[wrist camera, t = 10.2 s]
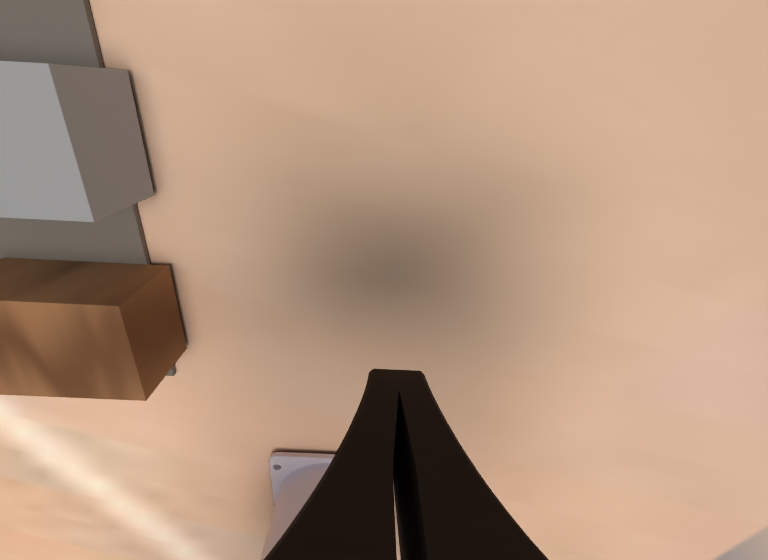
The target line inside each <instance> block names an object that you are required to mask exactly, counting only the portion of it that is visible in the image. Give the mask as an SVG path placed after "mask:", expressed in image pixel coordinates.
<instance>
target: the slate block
mask: <svg viewBox="0 0 768 560" xmlns="http://www.w3.org/2000/svg"><path fill="white" fill-rule="evenodd" d="M153 195H154V192H153V187H152V183H151V178H150V173H149V169H148V164H147V159H146V154H145V150H144V145H143V140H142V136H141V131H140V126H139V122H138V117H137V112H136V108H135V103H134V98H133V93H132V89H131V84H130V79H129V75H128V70H121V69H109V68H97V67H84V66H72V65H59V64H47V63H30V62H12V61H0V217H3V218H22V219H42V220H62V221H81V222H96V221H98V220H100V219H102V218H105V217H107V216H109V215H111V214H113V213H116V212H118V211H120V210H122V209H125V208H127V207H129V206H131V205H133V204H136V203H138V202H140V201H142V200H145V199H147V198H149V197H151V196H153Z"/></svg>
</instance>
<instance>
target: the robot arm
mask: <svg viewBox="0 0 768 560" xmlns="http://www.w3.org/2000/svg"><path fill="white" fill-rule="evenodd" d="M269 465H270V474H271V482H272V491H273V500H274V511H273V515H272V519H271V522H270V526H269V530H268V534H267V537H266V541H265V545H264V549H263V552H262V556H261V560H397V558H396V537H395V515H394V493H395V503H396V513H397V524H398V534H399V545H400V555H401V560H548V558H547V557H546V556H545V555H544V554H543V553H542V552H541V551H540V550H539V548H538V547H537V546H536V545H535V544H534V543H533V542H532V541H531V540H530V538H529V537H528V536H527V535H526V534H525V532H524V531H523V530H522V529H521V528H520V526H519V525H518V524H517V523H516V521H515V520H514V519H513V518H512V516H511V515H510V514H509V513H508V512H507V510H506V509H505V508H504V506H503V505H502V504H501V502H500V501H499V500H498V499H497V497H496V496H495V495H494V493H493V492H492V491H491V489H490V488H489V486H488V485H487V484H486V482H485V481H484V480H483V478H482V477H481V475H480V474H479V472H478V471H477V469H476V468H475V466H474V465H473V463H472V462H471V460H470V459H469V457H468V456H467V454H466V453H465V451H464V450H463V448H462V446H461V445H460V443H459V442H458V440H457V438H456V437H455V435H454V433H453V431H452V430H451V428H450V426H449V425H448V423H447V421H446V419H445V418H444V416H443V414H442V412H441V410H440V408H439V406H438V404H437V402H436V400H435V398H434V396H433V394H432V392H431V390H430V388H429V386H428V383H427V381H426V378H425V376H424V374H423V373H422V372H421V371H410V370H388V369H373V370H371V371H370V372H369V376H368V381H367V385H366V388H365V391H364V394H363V397H362V400H361V402H360V405H359V407H358V410H357V412H356V414H355V416H354V418H353V421H352V423H351V425H350V427H349V429H348V431H347V433H346V435H345V437H344V439H343V441H342V443H341V445H340V447H339V448H338V450H337V452H336V454H318V453H293V452H274V453H272V454H271V455H270V459H269ZM393 482H394V490H393Z"/></svg>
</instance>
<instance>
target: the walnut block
mask: <svg viewBox="0 0 768 560" xmlns="http://www.w3.org/2000/svg"><path fill="white" fill-rule="evenodd" d="M186 349H187V347H186V342H185V338H184V333H183V328H182V324H181V319H180V314H179V309H178V305H177V300H176V295H175V291H174V286H173V281H172V277H171V272H170V267H169V265H149V264H128V263H108V262H87V261H67V260H46V259H26V258H5V257H4V258H2V259H0V395H24V396H48V397H71V398H95V399H119V400H143V401H146V400H147V399H148V398H149V396H150V395H151V394H152V393H153V391H154V390H155V389H156V387H157V386H158V385H159V383H160V382H161V381H162V380H163V378H164V377H165V376H166V374H167V373H168V372H169V371H170V369H171V368H172V367H173V365H174V364H175V363H176V361H177V360H178V359H179V358H180V356H181V355H182V354H183V352H184V351H185V350H186Z"/></svg>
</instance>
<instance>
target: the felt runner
mask: <svg viewBox="0 0 768 560" xmlns="http://www.w3.org/2000/svg"><path fill="white" fill-rule="evenodd" d="M0 61H12V62H30V63H47V64H59V65H72V66H84V67H97V68H104V64H103V60H102V56H101V51H100V47H99V43H98V39H97V34H96V30H95V26H94V22H93V18H92V13H91V9H90V5H89V1H88V0H0ZM4 257H5V258H26V259H46V260H67V261H87V262H108V263H128V264H149V265H151V263H150V259H149V255H148V251H147V246H146V242H145V238H144V234H143V229H142V225H141V221H140V217H139V213H138V208H137V204H133V205H131V206H129V207H127V208H125V209H122V210H120V211H118V212H116V213H113V214H111V215H109V216H107V217H105V218H102V219H100V220H98V221H96V222H81V221H62V220H42V219H22V218H3V217H0V259H2V258H4ZM175 373H176V369H175V365H173V367H172V368H171V369H170V371H169V372H168V373H167V374H166V376H174V375H175Z"/></svg>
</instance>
